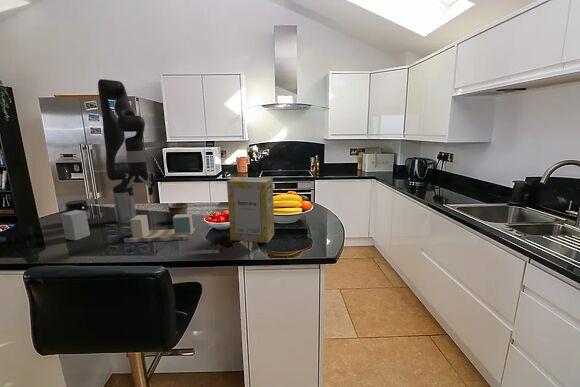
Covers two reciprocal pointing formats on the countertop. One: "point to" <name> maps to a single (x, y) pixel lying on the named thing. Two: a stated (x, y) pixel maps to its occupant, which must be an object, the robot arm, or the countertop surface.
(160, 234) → the shelf
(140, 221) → the carton
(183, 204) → the ceramic cup
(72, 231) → the supplement box
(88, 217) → the supplement container
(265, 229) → the pasta box
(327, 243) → the countertop surface
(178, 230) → the faced carton
